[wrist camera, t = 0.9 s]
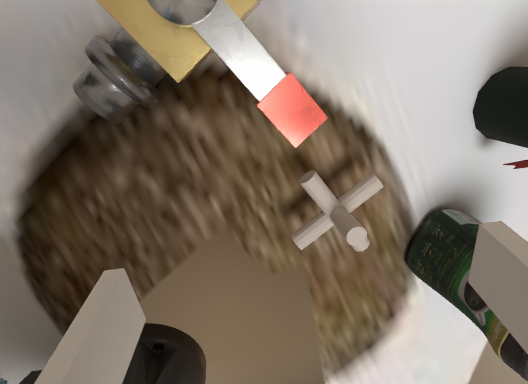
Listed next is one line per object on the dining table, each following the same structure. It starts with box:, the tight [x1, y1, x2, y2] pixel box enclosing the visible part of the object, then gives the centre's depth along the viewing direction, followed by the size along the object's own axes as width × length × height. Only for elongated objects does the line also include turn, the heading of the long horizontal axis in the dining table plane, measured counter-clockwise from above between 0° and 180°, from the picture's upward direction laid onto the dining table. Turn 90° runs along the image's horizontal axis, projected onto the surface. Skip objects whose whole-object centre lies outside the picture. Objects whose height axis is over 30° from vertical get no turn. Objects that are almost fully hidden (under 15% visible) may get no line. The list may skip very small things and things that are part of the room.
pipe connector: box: [291, 170, 383, 252], centre depth 32 cm, size 10×10×10 cm
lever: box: [147, 0, 328, 148], centre depth 21 cm, size 14×4×2 cm, turn 42°
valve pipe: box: [73, 0, 261, 123], centre depth 24 cm, size 22×7×9 cm, turn 132°
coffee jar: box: [407, 209, 528, 381], centre depth 33 cm, size 10×8×19 cm
